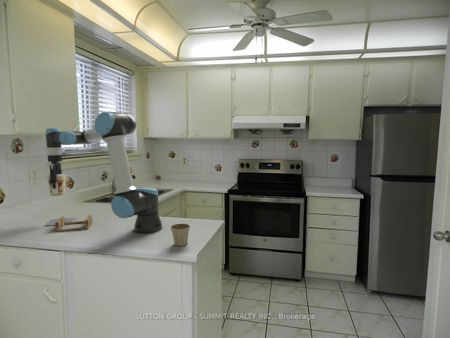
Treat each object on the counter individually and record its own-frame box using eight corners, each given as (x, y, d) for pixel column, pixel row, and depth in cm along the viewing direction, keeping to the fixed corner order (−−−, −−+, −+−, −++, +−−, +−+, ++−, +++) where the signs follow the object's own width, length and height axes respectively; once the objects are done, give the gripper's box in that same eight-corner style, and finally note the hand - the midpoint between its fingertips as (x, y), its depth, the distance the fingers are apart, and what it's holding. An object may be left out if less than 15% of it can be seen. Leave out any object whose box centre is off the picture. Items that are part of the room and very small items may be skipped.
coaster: (68, 224, 174) (68, 223, 174) (44, 226, 171) (44, 225, 171) (74, 218, 187) (74, 217, 187) (51, 220, 183) (51, 219, 183)
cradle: (88, 229, 165) (87, 220, 164) (55, 232, 161) (54, 223, 160) (92, 221, 179) (92, 213, 179) (62, 224, 175) (62, 216, 175)
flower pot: (179, 249, 135) (178, 230, 134) (166, 244, 141) (166, 226, 140) (194, 243, 142) (194, 226, 141) (181, 239, 148) (181, 222, 147)
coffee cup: (47, 196, 171) (45, 176, 169) (49, 193, 179) (48, 174, 178) (65, 195, 174) (64, 175, 173) (67, 192, 183) (65, 173, 182)
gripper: (56, 155, 165) (59, 195, 167) (66, 153, 185) (69, 188, 188) (41, 156, 163) (44, 196, 165) (53, 153, 183) (56, 189, 186)
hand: (57, 192), depth 177 cm, fingers closed on coffee cup, 9 cm apart
